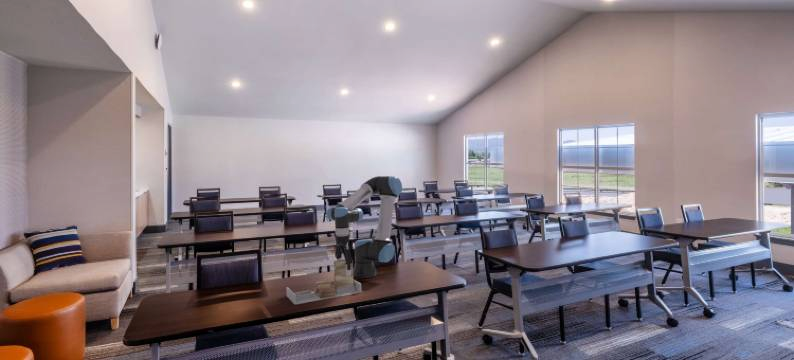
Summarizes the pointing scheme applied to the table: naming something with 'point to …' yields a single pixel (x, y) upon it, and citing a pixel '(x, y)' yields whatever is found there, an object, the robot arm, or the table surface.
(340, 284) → the tan wooden block
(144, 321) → the table surface
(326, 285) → the offcut top
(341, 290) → the rack
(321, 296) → the offcut bottom
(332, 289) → the offcut middle
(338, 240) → the robot arm
